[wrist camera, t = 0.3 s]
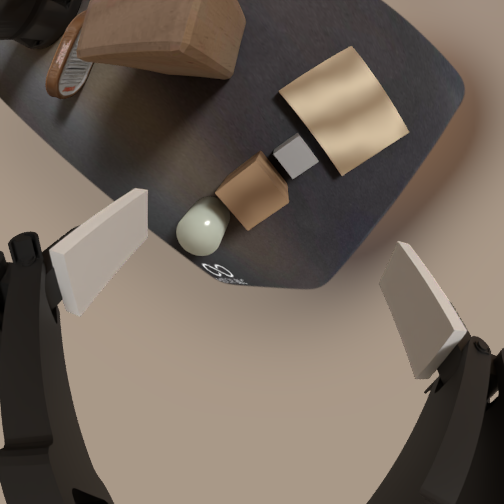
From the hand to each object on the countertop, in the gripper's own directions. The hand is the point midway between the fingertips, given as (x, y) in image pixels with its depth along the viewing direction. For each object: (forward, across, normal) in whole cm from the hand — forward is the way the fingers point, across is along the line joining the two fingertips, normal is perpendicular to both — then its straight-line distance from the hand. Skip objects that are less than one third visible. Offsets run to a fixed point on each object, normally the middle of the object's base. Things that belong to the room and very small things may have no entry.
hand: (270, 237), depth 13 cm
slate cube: (+26, +2, +1) cm, 26 cm away
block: (+25, -13, +14) cm, 32 cm away
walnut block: (+26, -2, -4) cm, 26 cm away
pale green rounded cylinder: (+26, -8, -11) cm, 29 cm away
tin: (+25, -32, +14) cm, 43 cm away
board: (+25, +8, +9) cm, 28 cm away
